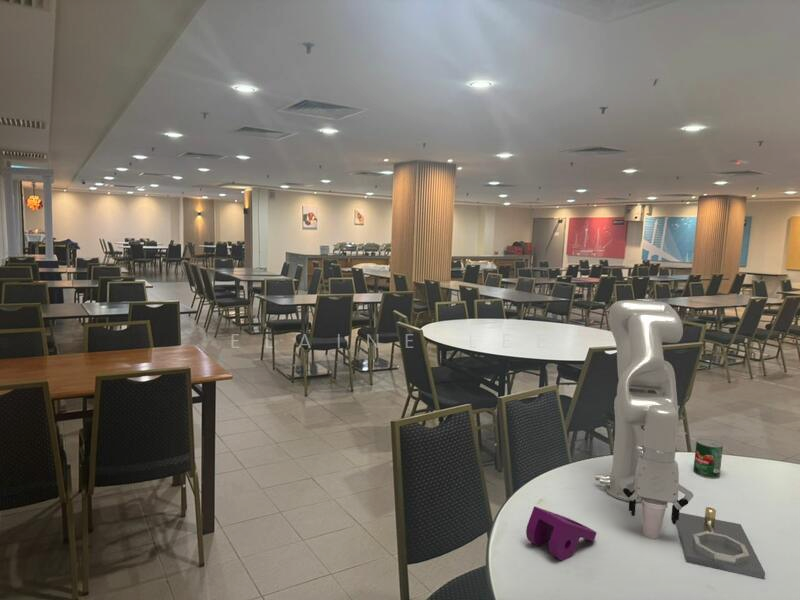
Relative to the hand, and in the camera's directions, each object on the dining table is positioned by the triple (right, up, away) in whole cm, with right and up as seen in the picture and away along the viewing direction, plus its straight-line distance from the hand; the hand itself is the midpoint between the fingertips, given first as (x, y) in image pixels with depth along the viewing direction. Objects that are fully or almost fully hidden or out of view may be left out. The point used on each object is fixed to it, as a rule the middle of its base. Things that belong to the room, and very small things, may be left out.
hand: (652, 517), depth 140 cm
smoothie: (0, -5, +1) cm, 5 cm away
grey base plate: (+15, -6, -3) cm, 16 cm away
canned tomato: (+38, -3, +43) cm, 57 cm away
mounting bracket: (-25, -5, -5) cm, 26 cm away
